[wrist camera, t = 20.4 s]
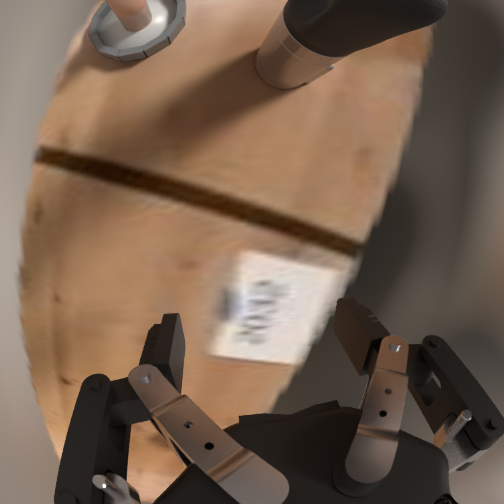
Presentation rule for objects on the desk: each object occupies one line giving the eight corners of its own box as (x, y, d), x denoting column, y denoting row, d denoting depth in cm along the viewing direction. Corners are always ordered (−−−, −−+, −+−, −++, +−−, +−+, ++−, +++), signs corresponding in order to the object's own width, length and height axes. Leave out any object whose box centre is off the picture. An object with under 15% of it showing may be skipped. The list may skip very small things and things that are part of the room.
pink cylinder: (153, 7, 28) (140, -29, 17) (150, 29, 30) (135, -6, 19) (125, 12, 27) (105, -21, 16) (121, 34, 29) (98, 3, 18)
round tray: (188, -15, 28) (187, -24, 25) (183, 53, 33) (181, 47, 31) (102, 0, 25) (98, -7, 23) (91, 69, 31) (84, 64, 28)
